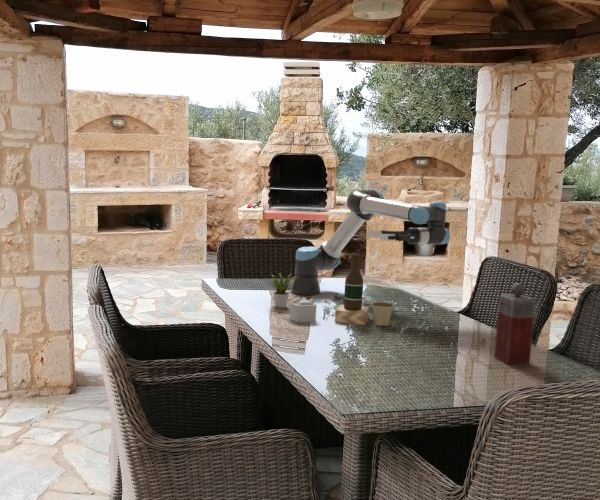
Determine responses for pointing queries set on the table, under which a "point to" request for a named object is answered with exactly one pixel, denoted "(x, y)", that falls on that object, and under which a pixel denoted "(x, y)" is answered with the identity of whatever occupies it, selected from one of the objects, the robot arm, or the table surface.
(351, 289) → the beer bottle
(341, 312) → the olive wood block
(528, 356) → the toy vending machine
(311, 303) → the lumpy-topped squat cylinder
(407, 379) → the table surface
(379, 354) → the table surface
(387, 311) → the flower pot
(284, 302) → the house plant
